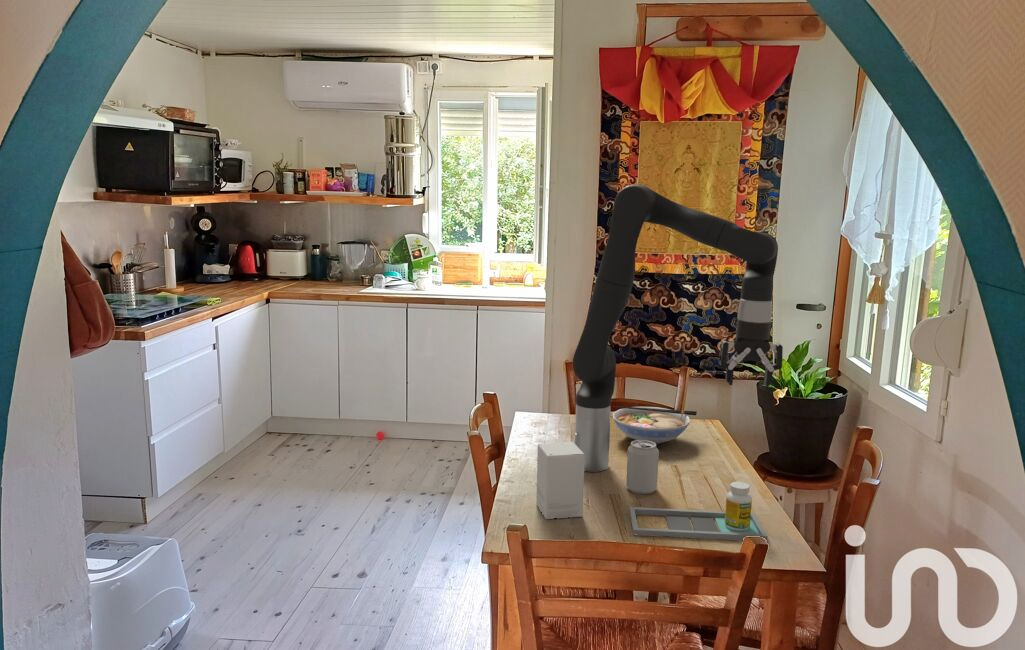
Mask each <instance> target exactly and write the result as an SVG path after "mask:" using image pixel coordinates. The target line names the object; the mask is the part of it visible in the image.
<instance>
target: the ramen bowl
mask: <svg viewBox="0 0 1025 650" xmlns="http://www.w3.org/2000/svg"><path fill="white" fill-rule="evenodd" d="M612 408H620V409H618V410H615V411H614V412H612V418H613V421H614V423H615V424H616V426H617V428H618V429H619V430H620V431H621V433H624V434H625V436H627V437H628V438H630V439H632V440H634V441H635V440H647V441H651V442H654V443H655V444H656V445H658V444H660V445H661V444H663V443H665V442H669V441H672V440H674V439H677V438H678V437H679V436H680V435H681V434H682V433H683V432H684V431H685V430H686V429H687V428H688V426H689V425H690V423H691V419H690V416H697V410H679V409H669V408H663V407H656V406H617V405H612ZM688 415H689V416H688Z"/></svg>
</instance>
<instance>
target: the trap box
mask: <svg viewBox="0 0 1025 650" xmlns="http://www.w3.org/2000/svg"><path fill="white" fill-rule="evenodd" d="M628 510H629V518H630V523H631V524H632V525H631V530H632V535H633V534H637V535H636V536H641V535H655V536H654V537H662V536H674V537H673V538H683V537H686V539H690V538H691V539H703V538H704V539H708V540H725V541H726V540H727V541H744V540H743V538H744V537H746V536H760V537H763V538H765V539H766V540H767V541H768V540H769V539H768V538H769V535H768V533H766V531H765V529H764V528H763V526H762V524H761V522H760V520H759V518H758V517H757V515H756V513H755V512H751V518H750V527H749V529H748V530H746V531H735V530H731V529H729V528H727V527H726V525H725V512H726V510H725V511H722V510H721V511H720V510H701V509H699V510H698V509H677V508H675V509H674V508H654V507H638V506H637V507H636V506H634V507H633V506H632V507H631V506H629V509H628ZM636 515H646V516H664V517H665V520H666V524H667V527H668V529H666V528H664V529H663V528H648V527H647V528H646V527H645V528H643V527H639V526H638V522H637V516H636ZM688 516H690V517H688ZM693 529H694V530H693Z"/></svg>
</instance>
